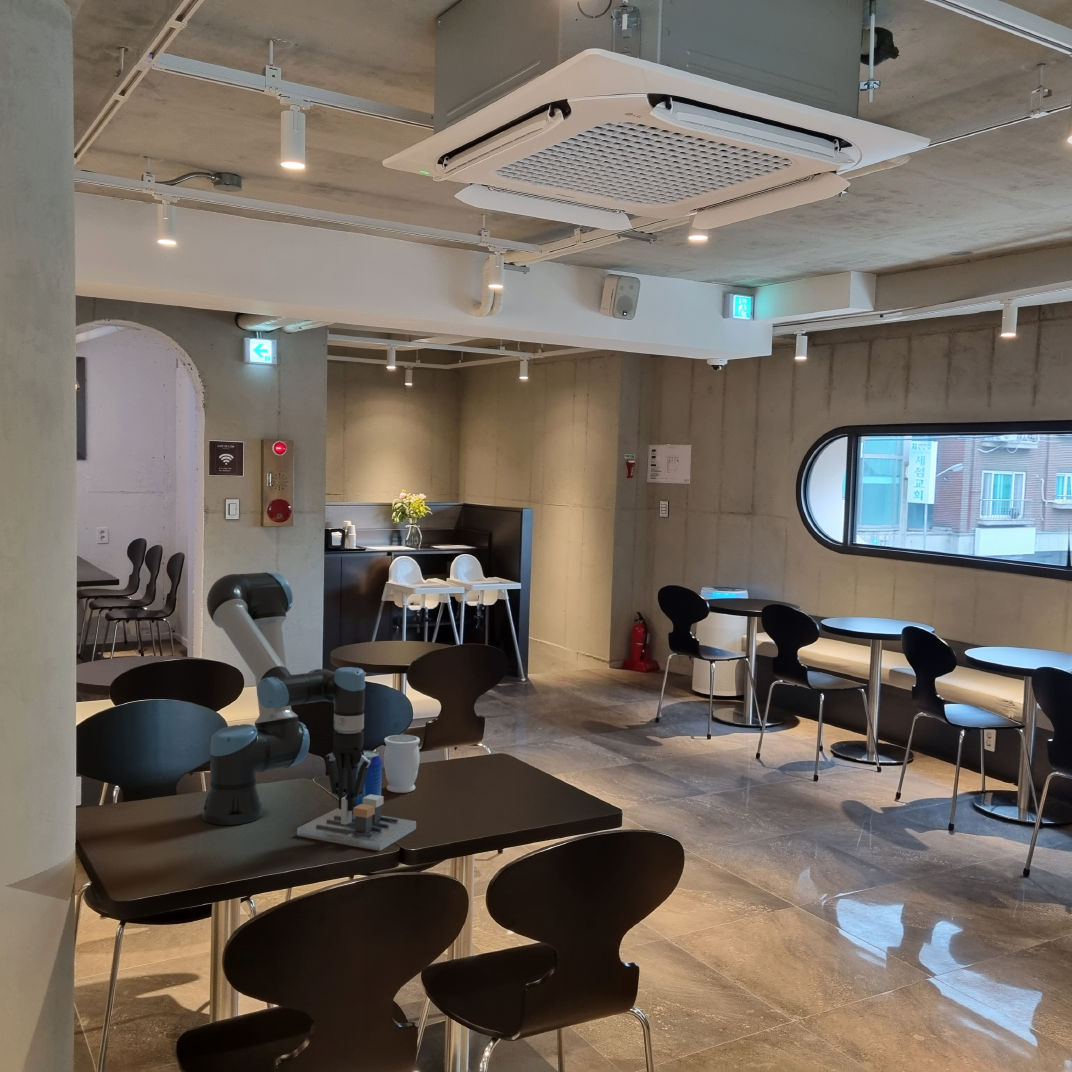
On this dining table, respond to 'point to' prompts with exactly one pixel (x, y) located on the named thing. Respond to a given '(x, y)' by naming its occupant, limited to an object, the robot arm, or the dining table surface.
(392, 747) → the jar
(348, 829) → the console
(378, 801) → the fader
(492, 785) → the dining table surface
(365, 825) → the fader
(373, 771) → the beer can
